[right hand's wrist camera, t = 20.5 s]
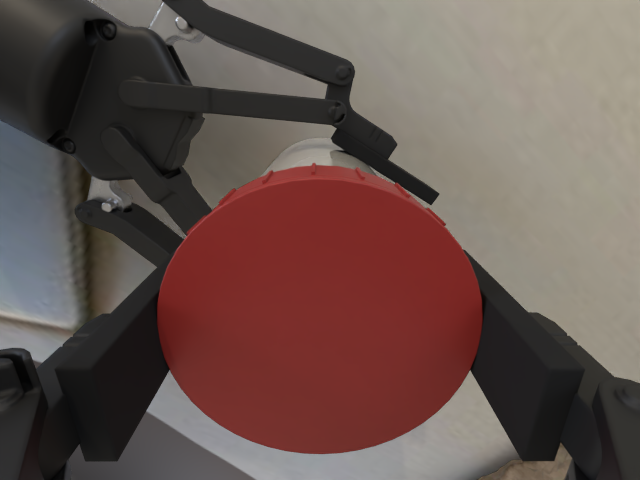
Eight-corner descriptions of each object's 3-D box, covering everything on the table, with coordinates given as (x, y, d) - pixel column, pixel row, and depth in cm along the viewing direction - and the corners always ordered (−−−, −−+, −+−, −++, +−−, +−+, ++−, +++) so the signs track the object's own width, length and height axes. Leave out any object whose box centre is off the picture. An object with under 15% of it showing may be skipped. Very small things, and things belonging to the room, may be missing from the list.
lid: (254, 99, 10) (238, 98, 8) (517, 252, 12) (558, 282, 10) (142, 344, 13) (110, 387, 11) (364, 438, 15) (371, 490, 13)
